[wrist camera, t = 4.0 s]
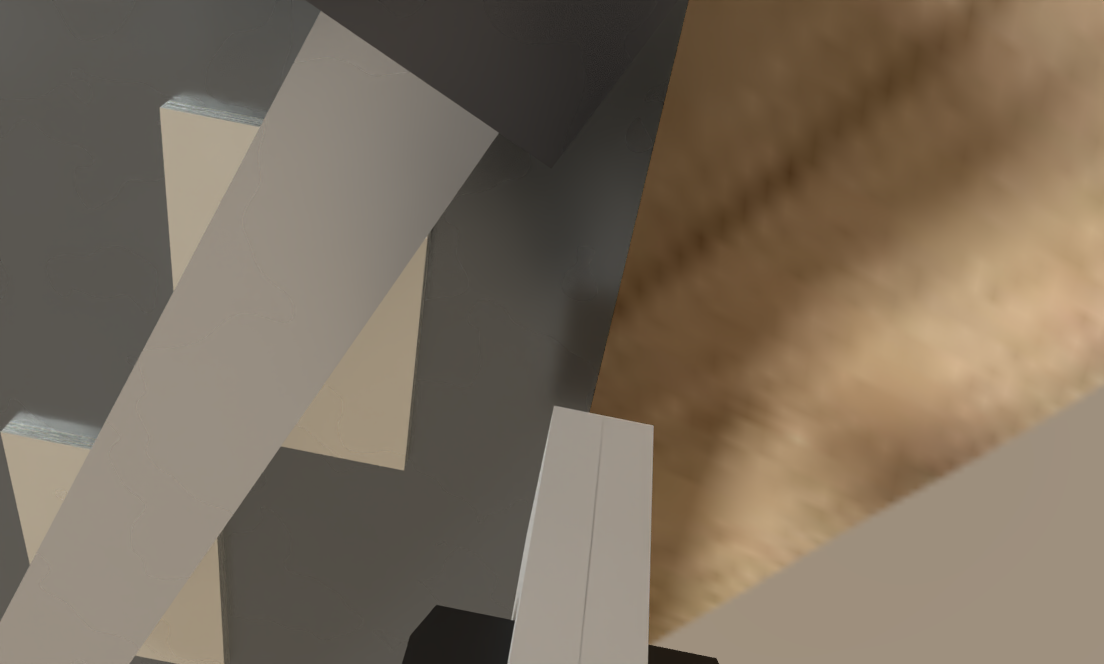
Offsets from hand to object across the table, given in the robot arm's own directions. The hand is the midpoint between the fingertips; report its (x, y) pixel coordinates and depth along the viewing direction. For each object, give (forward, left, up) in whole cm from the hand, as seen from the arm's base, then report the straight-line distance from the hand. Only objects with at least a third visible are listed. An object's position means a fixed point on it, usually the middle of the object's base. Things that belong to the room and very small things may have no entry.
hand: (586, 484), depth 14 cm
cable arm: (-1, -5, -1) cm, 6 cm away
